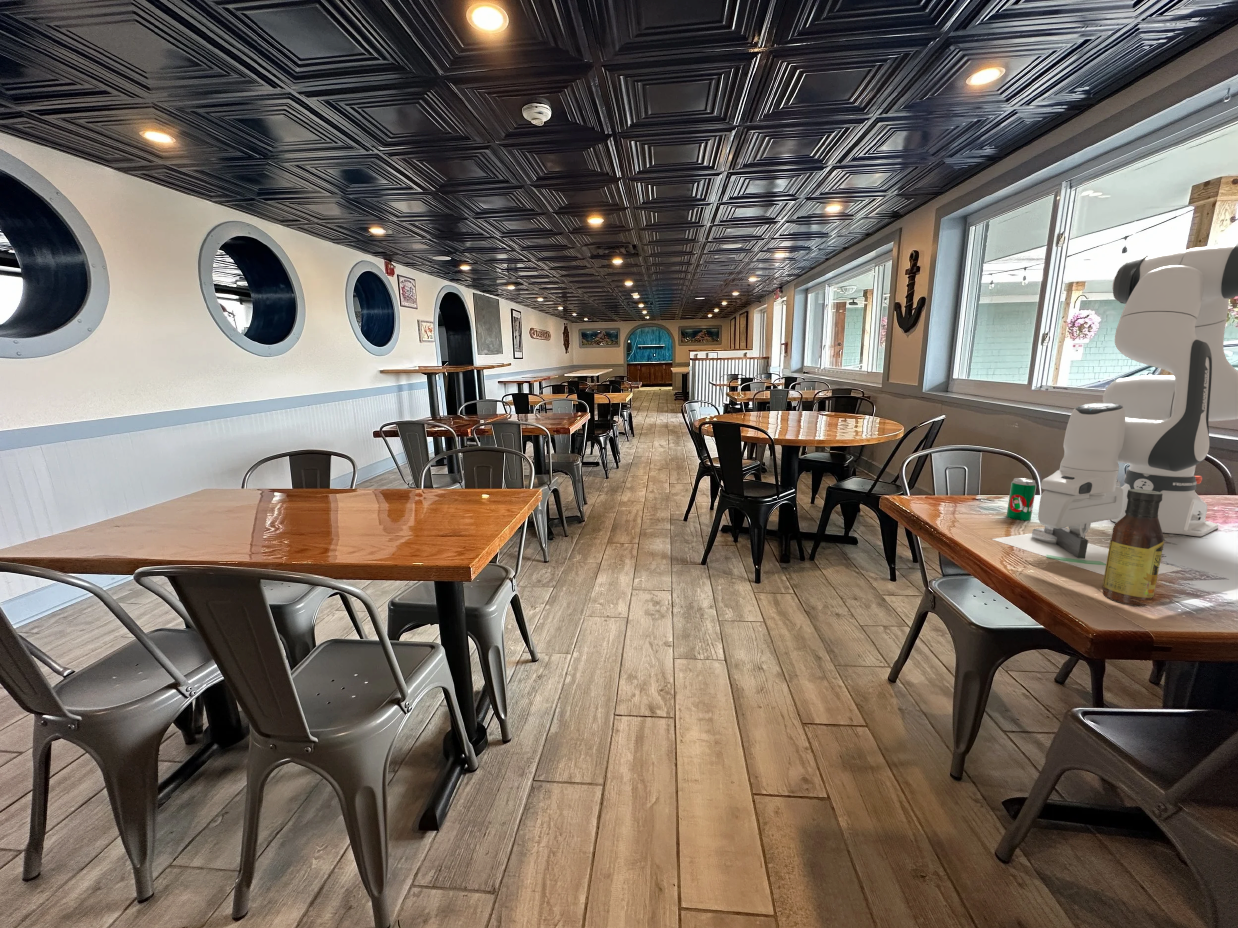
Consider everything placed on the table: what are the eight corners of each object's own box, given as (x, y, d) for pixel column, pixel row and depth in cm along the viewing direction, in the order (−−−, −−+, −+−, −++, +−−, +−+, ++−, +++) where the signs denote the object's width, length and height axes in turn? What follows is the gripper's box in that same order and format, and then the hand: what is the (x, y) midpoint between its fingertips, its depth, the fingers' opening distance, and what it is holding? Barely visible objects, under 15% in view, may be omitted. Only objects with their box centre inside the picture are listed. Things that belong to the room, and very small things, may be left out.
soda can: (1020, 520, 129) (1027, 477, 127) (1034, 526, 124) (1042, 481, 122) (1001, 519, 129) (1007, 477, 127) (1014, 525, 124) (1021, 481, 122)
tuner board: (1044, 537, 116) (1045, 530, 115) (1181, 576, 93) (1183, 568, 93) (988, 545, 110) (989, 538, 110) (1119, 588, 88) (1121, 580, 88)
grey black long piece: (1026, 533, 113) (1028, 515, 112) (1062, 536, 111) (1065, 517, 110) (1060, 556, 99) (1063, 535, 98) (1102, 560, 97) (1106, 539, 96)
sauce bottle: (1158, 611, 79) (1183, 498, 76) (1106, 602, 83) (1128, 493, 79) (1142, 596, 85) (1165, 489, 81) (1095, 588, 88) (1114, 485, 84)
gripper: (1101, 472, 106) (1091, 531, 108) (1035, 481, 100) (1026, 542, 103) (1138, 478, 100) (1127, 540, 102) (1070, 488, 94) (1060, 553, 97)
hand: (1076, 541), depth 103 cm, fingers closed, pressing on grey black long piece
